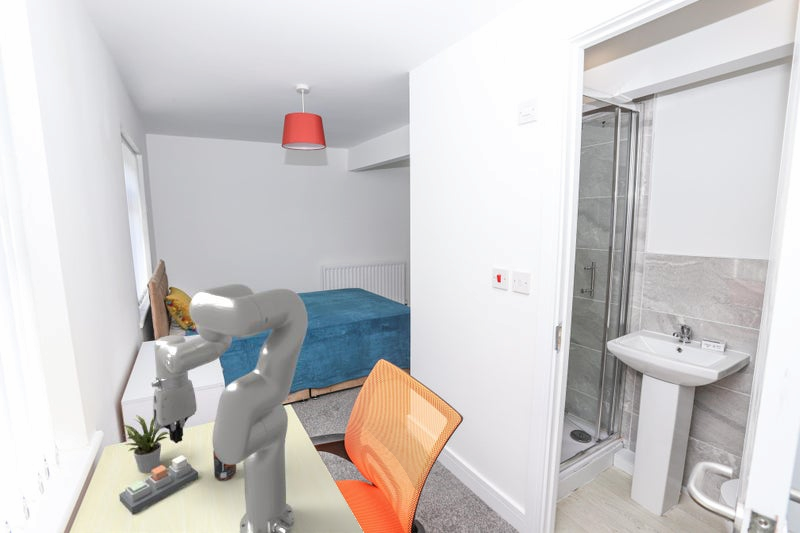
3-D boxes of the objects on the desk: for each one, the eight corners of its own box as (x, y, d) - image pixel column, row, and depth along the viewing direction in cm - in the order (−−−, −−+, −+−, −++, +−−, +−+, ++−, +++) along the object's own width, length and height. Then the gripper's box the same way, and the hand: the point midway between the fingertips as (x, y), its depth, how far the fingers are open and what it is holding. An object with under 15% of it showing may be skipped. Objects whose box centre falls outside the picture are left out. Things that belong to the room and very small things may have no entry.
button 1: (146, 493, 106) (145, 484, 106) (134, 499, 104) (133, 490, 104) (141, 488, 108) (140, 480, 108) (130, 494, 106) (129, 486, 105)
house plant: (178, 445, 131) (174, 399, 128) (182, 469, 119) (178, 418, 117) (126, 460, 123) (121, 411, 120) (125, 486, 111) (119, 433, 109)
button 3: (187, 466, 115) (186, 458, 115) (177, 471, 113) (176, 463, 112) (182, 462, 117) (182, 455, 116) (172, 467, 114) (172, 460, 114)
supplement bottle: (228, 483, 113) (226, 446, 112) (210, 480, 115) (207, 443, 113) (240, 469, 119) (239, 434, 117) (223, 466, 120) (221, 432, 119)
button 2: (167, 476, 111) (166, 468, 110) (156, 482, 108) (155, 474, 108) (162, 472, 112) (162, 464, 112) (152, 478, 110) (151, 470, 109)
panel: (198, 478, 115) (197, 465, 115) (132, 514, 102) (131, 500, 101) (184, 467, 120) (183, 455, 119) (119, 500, 106) (118, 487, 106)
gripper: (149, 394, 103) (154, 458, 105) (206, 374, 115) (209, 433, 118) (137, 385, 107) (142, 448, 110) (192, 368, 119) (195, 424, 122)
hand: (176, 440), depth 114 cm, fingers closed
